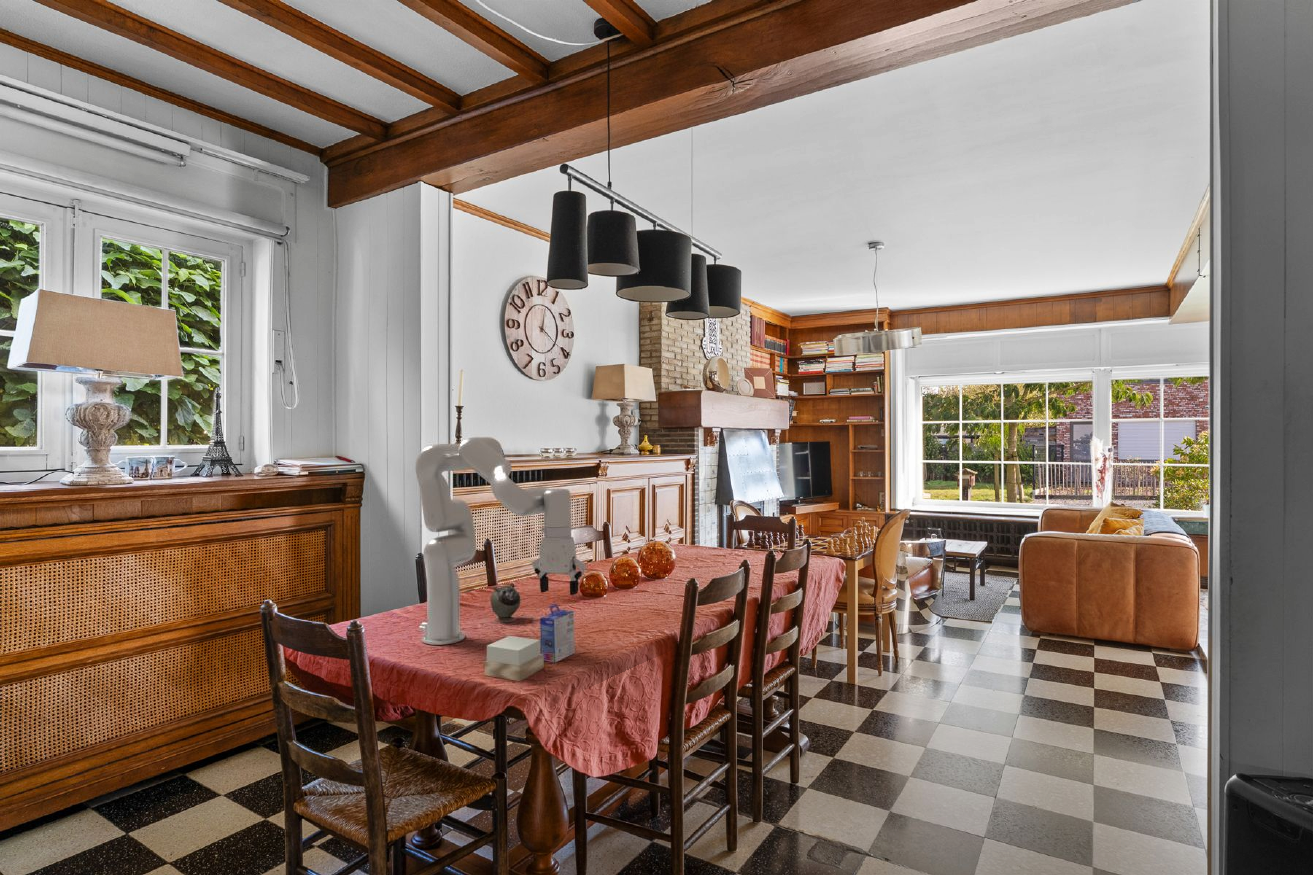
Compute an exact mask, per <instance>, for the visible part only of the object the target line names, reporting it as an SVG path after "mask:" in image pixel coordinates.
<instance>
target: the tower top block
mask: <svg viewBox="0 0 1313 875" xmlns="http://www.w3.org/2000/svg"><path fill="white" fill-rule="evenodd" d="M540 654H541V639H535V638H527V637H522V636H520V637H519V636H513V635H512V636H511V635H508V636H506V637H504V638H501V639H499V640H497V641H495V642H492V643H490V644H488V645H486V661H489V662H496V663H502V664H509V665H515V666H520V665H522V664H523V663H525V662H527V661H529V660H531V659H533V658H535V657H537V656H539V655H540Z"/></svg>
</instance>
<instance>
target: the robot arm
mask: <svg viewBox="0 0 1313 875" xmlns="http://www.w3.org/2000/svg"><path fill="white" fill-rule="evenodd" d="M512 468H513V467H512V463H511V462H510V461H509V459H507V458H505V457H504V456H503V448H502V445H501V443H500V442H499V441H498V440H497V439H495V438H493V437H488V436H487V437H486V436H485V437H484V436H482V437H480V436H478V437H477V436H475V437H468V438H466V439H464V440H462V441H461V442H460V443H436V444H433V445H432V444H431V445H429V446H426V447H424V448H423V449H422V450H421V451H420V452H419V454H418V455H417V457H416V460H415V468H414V469H415V474H416V479H417V482H418V486H419V490H420V500H421V506H422V514H423V521H424V526H425V527H426V529H427V530H428V531H429V532H432V533H441V532H448V533H449V534H445V535H441V536H438V537H435V538H432V539H431V540H430V541H428V542H427V543H426V544H425V546H424V548H423V561H424V567H425V570H426V592H427V593H426V598H427V600H426V601H427V602H426V608H427V609H426V610H427V611H426V615H427V617H426V618H427V619H426V620H427V621H426V622H425V621H424V622H422V623H421V624H420V625H419V627H418V631H424V634H423V635H422V637H421V642H422V643H424V644H427V645H433V646H440V645H441V646H442V645H449V644H450V645H451V644H456V643H458V642H460V641H463V640H464V639H465V636H466V633H465V631H463V630H460V628H461V627H460V626H461V624H460V621H461V620H460V617H461V616H460V615H461V614H460V611H461V610H460V609H461V608H460V601H461V600H460V599H461V598H460V592H461V591H460V576H459V575H458V572H457V570H456V567H455V566H456V565H460V564H464V563H467V562H469V561H471V560H472V559H473V558H474V556H475V555H476V552H477V541H476V540H477V539H476V531H475V525H474V517H473V513H472V509H471V507H470V506H469V505H468V503H467V502H466V501H464V500H462V499H457V498H453V499H451V494H450V487H449V484H448V481H447V479H446V478H445V477H444V475H443V474H442V473H443V472H455V471H466V470H473V471H474V472H475V473H477V475H479V476H480V477H481V478H482V479H483V480H485V481H486V482H487V483H488V484H490V489H491V491H492V493H493V496H494V498H495V499H496V500H497V501H498V502H499V503H500V504H501V506H503V507H505V508H506V509H507V510H508V511H510V512H511V513H513V514H514V515H517V516H519V517H527V516H531V515H538V514H543V522H544V525H543V527H542V528H541V529H540V531H541V533H543V535H544V536H543V537H541V541H540V548H539V557H538V558H537V559H535V560H533V561H532V562H531V565H532V568H533V569H534V570H533V571H534V573H535V574H536V575H537V577H538V579H539V589H540V593H541V594H542V593H545V592H548V591H549V590H550V589H549V584H550V583H549V577H548V575H549V574H552V575H568V578H570V581H569V595H570V596H574V595H576V594H577V595H578V591H579V580H580V579H581V577H582V576H583V575H584V572H585V570H586V568H587V565H586V564H585V563H584V562H582V561H581V560H579V559H577V551H576V543H575V540H574V537H573V536H572V506H571V505H572V502H571V500H572V497H571V491H570V490H569V489H567V488H548V487H542V486H541V487H538V486H537V487H531V488H522V487H521V486H519V485H518V484H516V483H515V481H513V480H512V479H511V478H510V474H511V471H512ZM577 568H578V570H577Z"/></svg>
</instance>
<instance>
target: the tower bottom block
mask: <svg viewBox="0 0 1313 875" xmlns="http://www.w3.org/2000/svg"><path fill="white" fill-rule="evenodd" d="M544 662H545V661H544V654H541V653H540V655H539V656H537V657H535V658H533V659H531V660H529V661H527V662H525V663H523V664H522V665H520V666H515V665H509V664H502V663H496V662H489V661H487V660H485V661H484V676H487V677H493V678H500V679H504V680H512V681H517V682H521V681H524V680H525V679H526V678H527V679H528V678H529V677H530V676H532V675H534V674H535V673H537V672H539V671H540V670H543V669H544Z"/></svg>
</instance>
